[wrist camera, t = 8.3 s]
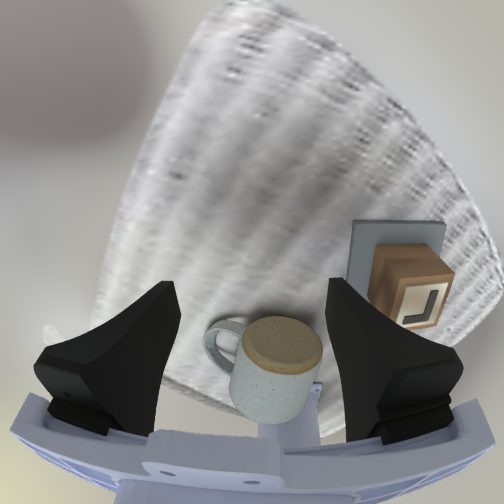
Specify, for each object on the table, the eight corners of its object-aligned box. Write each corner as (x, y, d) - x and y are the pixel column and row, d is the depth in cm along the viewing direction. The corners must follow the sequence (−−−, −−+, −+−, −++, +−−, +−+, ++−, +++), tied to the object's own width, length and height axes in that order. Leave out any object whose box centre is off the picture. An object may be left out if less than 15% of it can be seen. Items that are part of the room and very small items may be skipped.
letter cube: (413, 291, 23) (438, 328, 18) (366, 295, 23) (385, 337, 18) (425, 243, 20) (457, 276, 16) (375, 244, 21) (401, 281, 16)
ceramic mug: (321, 313, 25) (334, 378, 18) (301, 368, 29) (306, 427, 22) (206, 299, 25) (187, 363, 18) (205, 357, 29) (192, 416, 22)
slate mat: (421, 304, 24) (423, 308, 24) (340, 312, 25) (342, 316, 24) (443, 222, 20) (446, 224, 19) (353, 220, 20) (355, 223, 20)
